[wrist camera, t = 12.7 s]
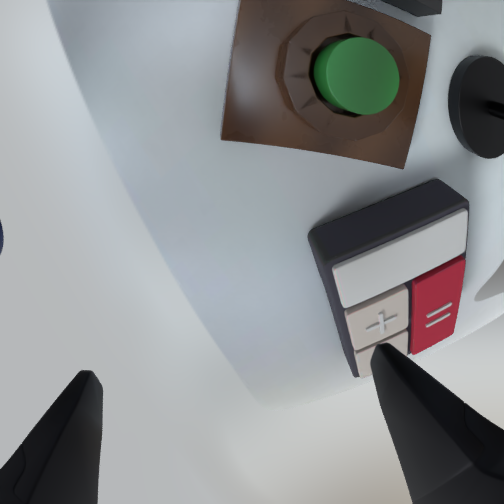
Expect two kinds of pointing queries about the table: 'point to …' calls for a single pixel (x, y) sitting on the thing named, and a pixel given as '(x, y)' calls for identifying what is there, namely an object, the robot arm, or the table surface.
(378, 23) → the switch block
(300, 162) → the table surface
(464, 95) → the desk lamp
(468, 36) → the table surface
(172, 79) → the table surface
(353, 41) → the power button
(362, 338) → the calculator
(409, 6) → the panel
